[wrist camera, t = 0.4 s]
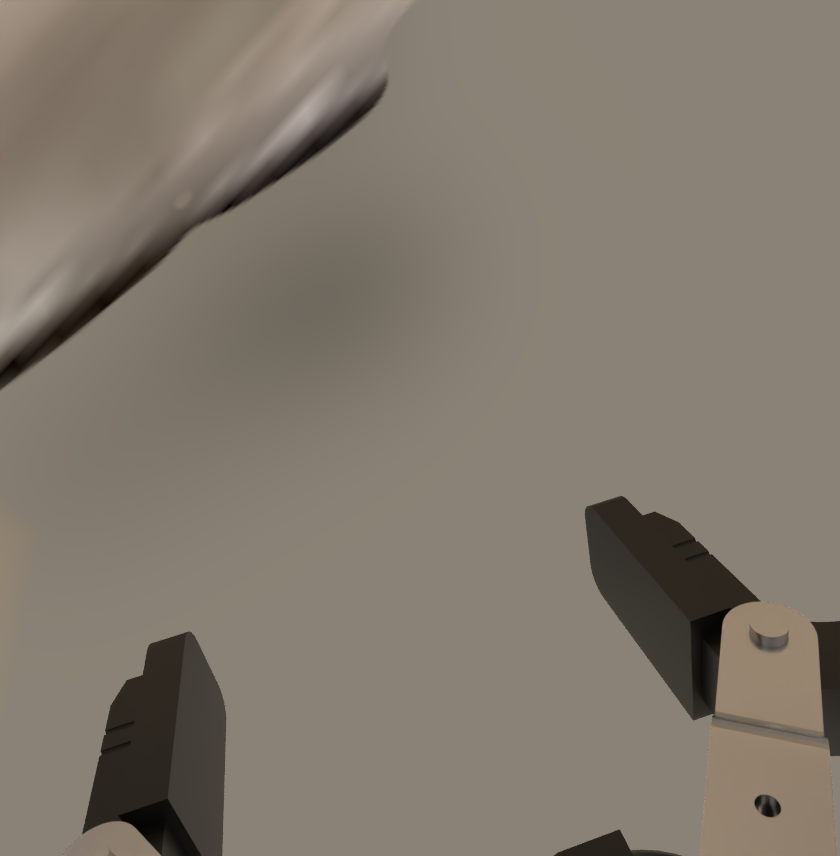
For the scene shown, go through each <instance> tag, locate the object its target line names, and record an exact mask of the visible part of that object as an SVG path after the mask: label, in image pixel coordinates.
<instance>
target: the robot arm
mask: <svg viewBox="0 0 840 856" xmlns="http://www.w3.org/2000/svg"><path fill="white" fill-rule="evenodd" d="M585 519H586V529H587V537H588V546H589V555H590V563H591V569H592V573H593V576H594V579H595V582H596V585H597V586H598V589H599V591H600V592H601V594H602V596H603V597H604V599H605V600H606V601H607V603H608V604H609V606H610V607H611V608H612V610H613V611H614V612H615V614H616V615H617V616H618V618H619V619H620V621H621V622H622V623H623V625H624V626H625V627H626V629H627V630H628V631H629V633H630V634H631V636H632V637H633V638H634V640H635V641H636V643H637V644H638V645H639V647H640V648H641V649H642V651H643V652H644V653H645V655H646V656H647V658H648V659H649V660H650V662H651V663H652V664H653V666H654V667H655V669H656V670H657V671H658V673H659V674H660V675H661V677H662V678H663V680H664V681H665V682H666V683H667V685H668V686H669V688H670V689H671V690H672V692H673V693H674V695H675V696H676V697H677V699H678V700H679V701H680V703H681V704H682V706H683V707H684V708H685V710H686V711H687V712H688V714H689V715H690V717H691V718H692V719H693V720H696V719H699V718H702V717H705V716H707V715H710V714H714V715H713V717H712V724H711V733H710V746H709V756H708V768H707V779H706V790H705V803H704V814H703V825H702V836H701V847H700V856H837V848H836V834H835V819H834V805H833V790H832V776H831V761H830V756H840V621H838V622H837V621H836V622H810V621H809V620H808V619H807V618H806V617H805V616H803V615H802V614H800V613H799V612H797V611H795V610H793V609H792V608H789V607H787V606H784V605H780V604H776V603H771V602H761V601H760V600H758V598H757V597H756V596H755V595H753V594H752V592H750V591H749V590H748V589H747V588H746V587H745V586H744V585H743V584H742V583H741V582H740V581H739V580H738V579H737V578H736V577H735V576H734V575H733V574H732V573H731V572H730V571H729V570H728V569H726V568H725V567H724V566H723V565H722V564H721V563H720V562H719V561H718V560H717V559H716V558H715V557H714V556H713V555H712V554H711V555H710V554H709V552H708V550H707V549H706V548H704V546H703V545H701V544H700V543H699V542H696V540H695V538H694V537H693V536H692V535H691V534H690V533H689V532H688V531H687V530H686V529H685V528H684V527H683V526H682V525H681V524H680V523H679V522H676V521H674V520H672V519H670V518H667V517H665V516H663V515H661V514H659V513H656V512H652V513H650V514H646V515H643V516H642V515H641V513H640V512H639V511H638V510H637V509H636V508H635V507H634V506H633V505H632V504H631V503H630V502H629V501H628V500H627V499H626V498H625V497H623V496H619V497H616V498H613V499H610V500H606V501H603V502H600V503H597V504H594V505H591V506H587V507H586V509H585ZM105 731H106V735H104V738H103V743H102V747H101V753H102V755H101V756H100V757H99V761H98V766H97V770H96V774H95V779H94V783H93V788H92V792H91V797H90V801H89V806H88V811H87V815H86V819H85V824H84V828H83V833H82V835H81V836H79V837H78V838H77V839H76V840H75V841H73V842H72V843H71V844H70V845H69V846H68V847H67V848H66V849H65V851H64V852H63V853H62V854H61V855H60V856H222V841H223V809H224V775H225V741H226V712H225V705H224V701H223V697H222V693H221V690H220V688H219V685H218V683H217V681H216V679H215V677H214V675H213V673H212V671H211V669H210V667H209V665H208V663H207V660H206V658H205V656H204V654H203V652H202V650H201V648H200V646H199V644H198V642H197V640H196V638H195V636H194V635H193V634H192V633H191V632H186V633H183V634H180V635H177V636H174V637H170V638H168V639H164V640H161V641H158V642H154V643H151V644H150V645H149V647H148V650H147V655H146V660H145V666H144V671H143V675H141V676H139V677H135V678H132V679H129V680H127V681H126V683H125V684H124V686H123V687H122V689H121V690H120V692H119V693H118V695H117V696H116V698H115V700H114V701H113V703H112V705H111V707H110V711H109V716H108V720H107V725H106V730H105ZM554 856H680V855H677V854H673V853H668V852H662V851H654V850H630V849H629V847H628V845H627V843H626V841H625V839H624V837H623V835H622V833H621V831H620V830H617V831H614V832H612V833H609V834H606V835H604V836H601V837H599V838H596V839H593V840H590V841H588V842H585V843H582V844H580V845H577V846H574V847H572V848H569V849H566V850H564V851H561V852H558V853H557V854H556V855H554Z"/></svg>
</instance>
